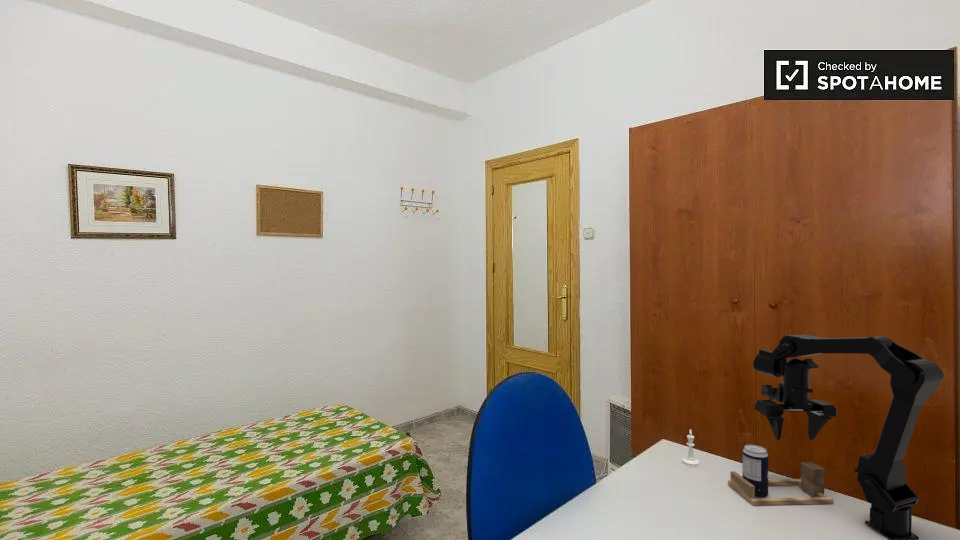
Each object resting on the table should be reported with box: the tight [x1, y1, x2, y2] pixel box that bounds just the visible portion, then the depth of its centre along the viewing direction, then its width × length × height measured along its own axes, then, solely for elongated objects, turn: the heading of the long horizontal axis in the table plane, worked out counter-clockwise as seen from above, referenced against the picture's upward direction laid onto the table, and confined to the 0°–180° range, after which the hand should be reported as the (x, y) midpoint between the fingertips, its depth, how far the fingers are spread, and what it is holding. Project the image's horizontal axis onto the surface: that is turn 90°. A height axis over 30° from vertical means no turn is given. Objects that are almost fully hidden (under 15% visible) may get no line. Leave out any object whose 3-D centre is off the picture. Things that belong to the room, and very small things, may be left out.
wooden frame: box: [727, 461, 835, 506], centre depth 114 cm, size 21×10×7 cm, turn 92°
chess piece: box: [681, 429, 701, 468], centre depth 132 cm, size 5×5×10 cm
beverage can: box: [742, 444, 770, 498], centre depth 113 cm, size 6×6×12 cm
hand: (794, 439), depth 118 cm, fingers open, 9 cm apart
